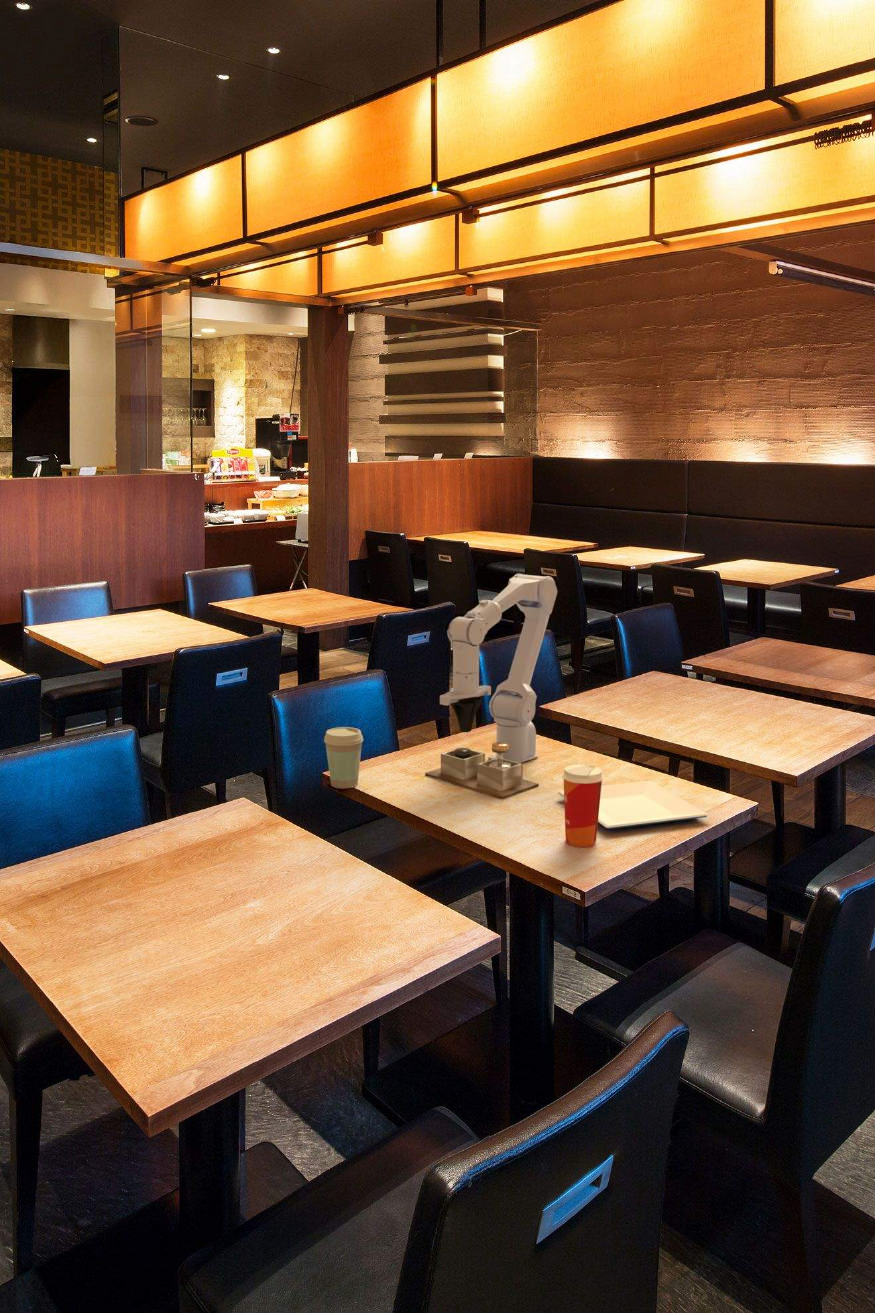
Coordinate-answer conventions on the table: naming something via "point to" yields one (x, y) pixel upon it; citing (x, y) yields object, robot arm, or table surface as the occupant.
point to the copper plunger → (500, 755)
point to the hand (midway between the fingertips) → (465, 731)
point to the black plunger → (462, 753)
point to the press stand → (482, 775)
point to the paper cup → (581, 804)
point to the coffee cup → (343, 755)
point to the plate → (641, 805)
